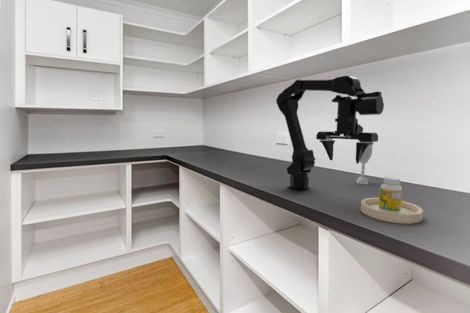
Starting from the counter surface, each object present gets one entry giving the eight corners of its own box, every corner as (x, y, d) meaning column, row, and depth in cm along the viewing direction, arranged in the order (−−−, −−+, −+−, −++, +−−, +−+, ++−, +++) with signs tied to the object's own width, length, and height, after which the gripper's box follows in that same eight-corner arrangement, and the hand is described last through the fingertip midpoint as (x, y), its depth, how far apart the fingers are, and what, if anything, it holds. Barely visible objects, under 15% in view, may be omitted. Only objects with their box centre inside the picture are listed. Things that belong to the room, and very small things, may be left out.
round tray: (351, 212, 73) (352, 204, 73) (372, 202, 83) (373, 195, 82) (411, 228, 62) (412, 219, 61) (428, 214, 71) (429, 206, 71)
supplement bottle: (404, 213, 70) (407, 180, 68) (385, 213, 70) (388, 180, 68) (392, 207, 75) (395, 176, 74) (374, 207, 75) (377, 176, 74)
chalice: (374, 184, 107) (377, 142, 104) (359, 184, 106) (362, 142, 104) (364, 180, 114) (367, 141, 111) (350, 181, 113) (352, 141, 111)
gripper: (386, 115, 81) (382, 162, 83) (332, 116, 95) (330, 157, 97) (372, 114, 74) (368, 166, 76) (316, 116, 88) (314, 159, 90)
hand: (343, 161), depth 85 cm, fingers open, 9 cm apart
